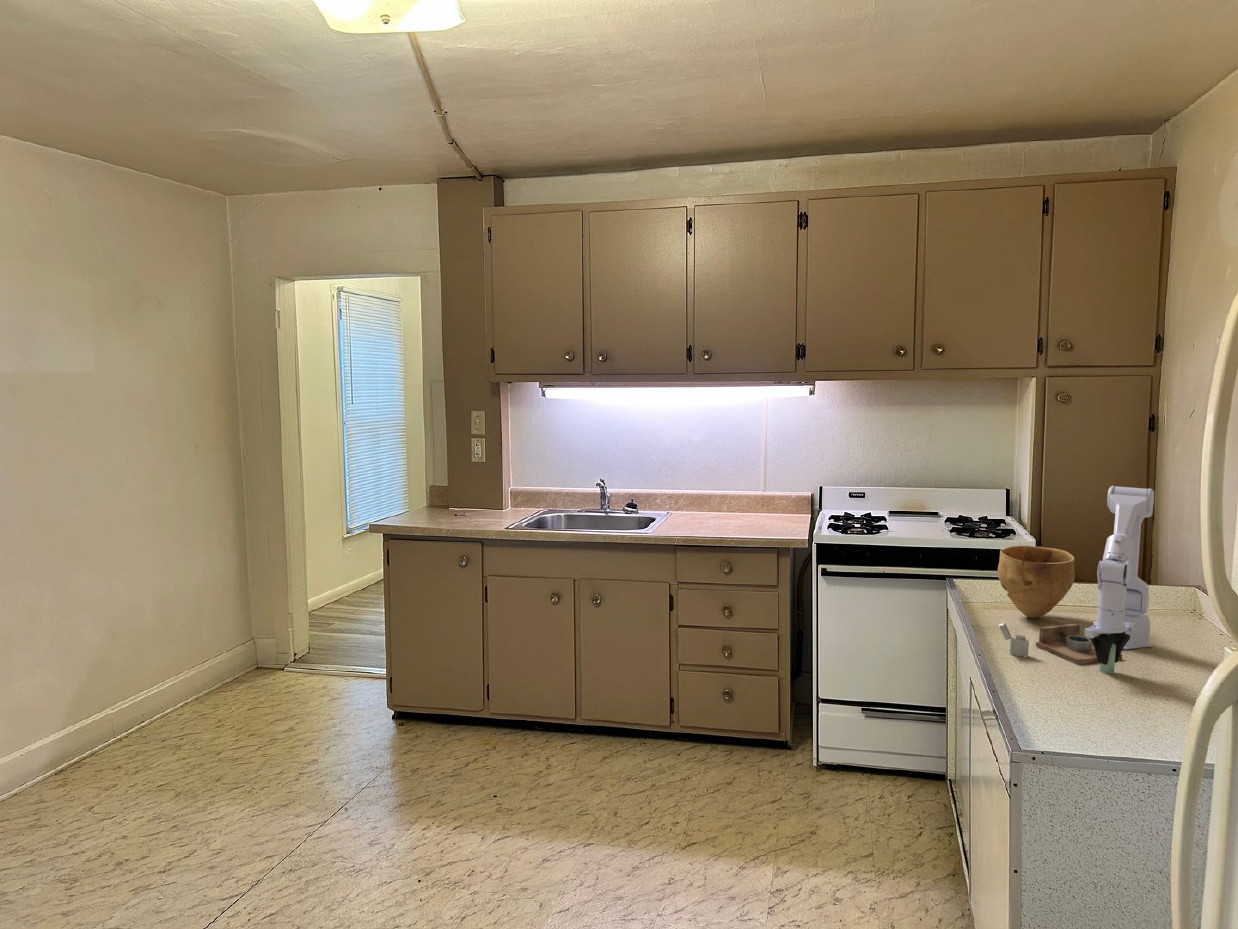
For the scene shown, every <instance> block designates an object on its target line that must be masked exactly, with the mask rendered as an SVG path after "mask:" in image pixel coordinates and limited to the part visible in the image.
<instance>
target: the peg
mask: <svg viewBox="0 0 1238 929" xmlns="http://www.w3.org/2000/svg"><path fill="white" fill-rule="evenodd" d="M1115 652H1116V645H1115V644H1112V647H1111V649H1110V653H1109V660H1108V663H1107V665H1104V664H1101V663H1099V664H1100V665H1099V672H1100V673H1102V674H1106V675H1113V674H1115V664H1116V663H1115Z"/></svg>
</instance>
